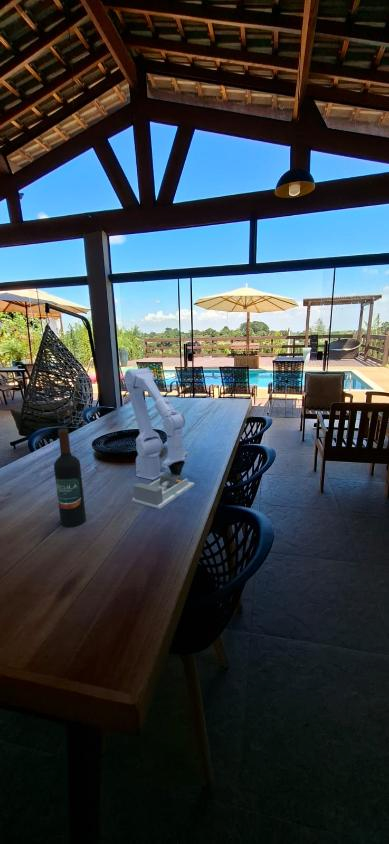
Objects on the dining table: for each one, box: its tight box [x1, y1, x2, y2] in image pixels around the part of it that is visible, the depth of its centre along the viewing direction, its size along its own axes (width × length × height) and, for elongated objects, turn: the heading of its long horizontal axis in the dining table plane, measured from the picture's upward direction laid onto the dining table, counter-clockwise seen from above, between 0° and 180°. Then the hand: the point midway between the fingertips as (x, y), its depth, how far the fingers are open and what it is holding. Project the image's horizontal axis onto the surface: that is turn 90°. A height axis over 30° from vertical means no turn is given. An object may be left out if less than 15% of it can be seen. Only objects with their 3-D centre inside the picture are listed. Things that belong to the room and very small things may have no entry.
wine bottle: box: [53, 428, 87, 528], centre depth 112 cm, size 8×8×30 cm
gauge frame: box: [131, 477, 195, 509], centre depth 134 cm, size 12×22×6 cm, turn 148°
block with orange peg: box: [159, 472, 183, 488], centre depth 135 cm, size 9×7×4 cm
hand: (176, 479), depth 140 cm, fingers closed
